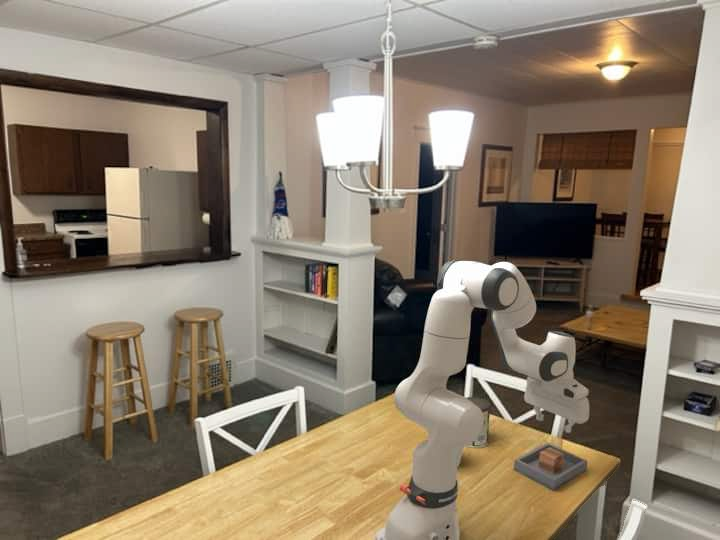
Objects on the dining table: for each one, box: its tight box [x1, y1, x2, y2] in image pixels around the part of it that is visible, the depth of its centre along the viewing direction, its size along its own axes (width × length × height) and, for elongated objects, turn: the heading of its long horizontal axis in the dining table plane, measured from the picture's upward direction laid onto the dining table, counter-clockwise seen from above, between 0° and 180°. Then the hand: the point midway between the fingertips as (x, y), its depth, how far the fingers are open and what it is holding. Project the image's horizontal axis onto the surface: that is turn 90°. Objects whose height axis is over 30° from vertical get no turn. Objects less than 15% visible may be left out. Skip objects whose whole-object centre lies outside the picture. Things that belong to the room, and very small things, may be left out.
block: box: [539, 447, 563, 474], centre depth 162 cm, size 5×5×5 cm
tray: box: [513, 442, 588, 492], centre depth 162 cm, size 18×14×4 cm
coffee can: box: [464, 396, 491, 449], centre depth 180 cm, size 10×10×14 cm
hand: (553, 425), depth 160 cm, fingers open, 8 cm apart
